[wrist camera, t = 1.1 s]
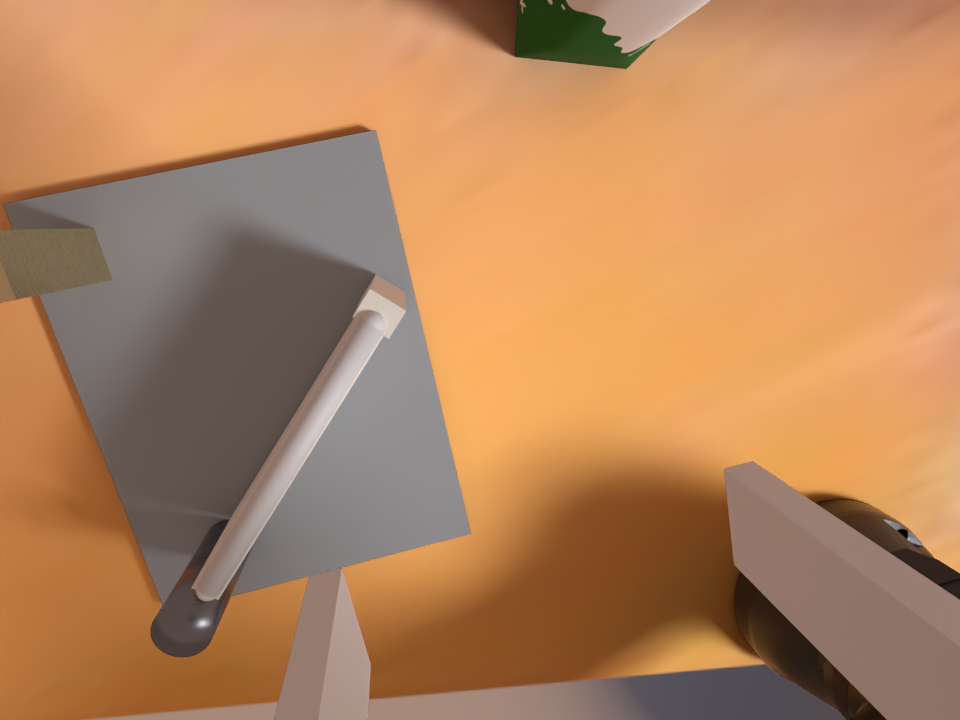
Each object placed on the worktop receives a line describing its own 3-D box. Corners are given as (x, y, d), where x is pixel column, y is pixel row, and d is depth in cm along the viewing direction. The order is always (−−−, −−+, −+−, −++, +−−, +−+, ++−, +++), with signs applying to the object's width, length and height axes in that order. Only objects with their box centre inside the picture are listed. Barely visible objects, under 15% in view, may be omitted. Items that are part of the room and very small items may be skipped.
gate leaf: (257, 525, 38) (216, 615, 30) (229, 512, 38) (178, 599, 29) (404, 291, 36) (406, 313, 27) (376, 273, 36) (369, 290, 27)
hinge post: (262, 546, 40) (220, 648, 31) (218, 557, 40) (162, 663, 30) (249, 507, 39) (202, 599, 30) (204, 518, 39) (142, 615, 30)
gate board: (469, 526, 42) (470, 533, 41) (171, 604, 40) (165, 613, 39) (376, 132, 35) (375, 129, 34) (13, 204, 34) (2, 204, 33)
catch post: (120, 278, 35) (16, 299, 26) (79, 287, 35) (-42, 311, 25) (102, 228, 34) (-13, 229, 25) (60, 236, 34) (-73, 242, 25)
